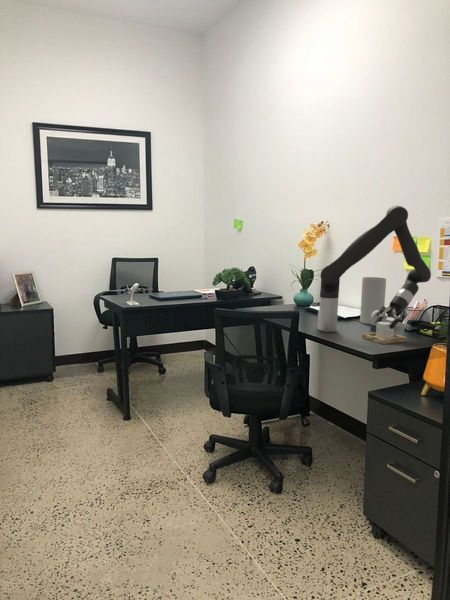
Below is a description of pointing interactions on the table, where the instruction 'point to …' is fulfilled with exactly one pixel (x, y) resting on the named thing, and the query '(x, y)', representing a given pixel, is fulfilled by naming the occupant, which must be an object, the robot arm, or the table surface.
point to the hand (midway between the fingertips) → (383, 326)
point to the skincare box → (384, 330)
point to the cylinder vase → (372, 298)
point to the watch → (373, 327)
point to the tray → (384, 341)
